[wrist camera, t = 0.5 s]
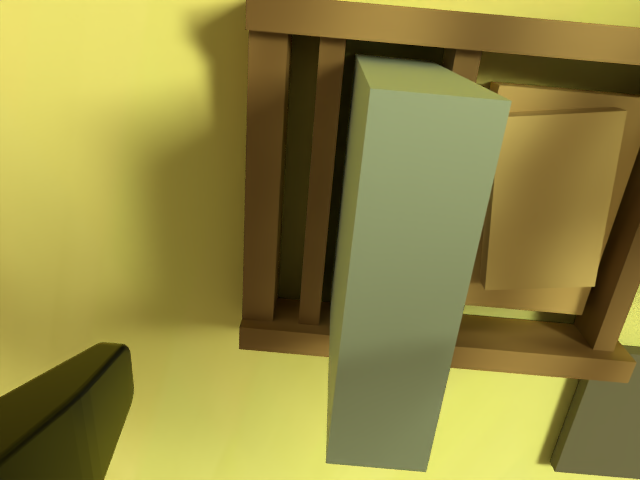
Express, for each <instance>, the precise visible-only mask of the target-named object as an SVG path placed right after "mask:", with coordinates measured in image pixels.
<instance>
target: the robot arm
mask: <svg viewBox="0 0 640 480" xmlns="http://www.w3.org/2000/svg"><path fill="white" fill-rule="evenodd" d="M133 394H134V384H133V374H132V364H131V354H130V350H129V348H128V347H127V346H126V345H125V344H117V343H106V342H102V343H98V344H96V345H94V346H92V347H90V348H89V349H87V350H85V351H83V352H81V353H79V354H78V355H76V356H74V357H72V358H70V359H69V360H67V361H65V362H63V363H61V364H59V365H58V366H56V367H54V368H52V369H50V370H49V371H47V372H45V373H43V374H41V375H39V376H38V377H36V378H34V379H32V380H30V381H29V382H27V383H25V384H23V385H21V386H19V387H18V388H16V389H14V390H12V391H10V392H9V393H7V394H5V395H3V396H1V397H0V480H104V478H105V476H106V473H107V470H108V467H109V464H110V462H111V459H112V456H113V453H114V451H115V448H116V445H117V442H118V439H119V437H120V434H121V431H122V428H123V426H124V423H125V420H126V417H127V414H128V412H129V409H130V406H131V403H132V399H133Z"/></svg>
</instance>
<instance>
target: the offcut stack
mask: <svg viewBox="0 0 640 480" xmlns="http://www.w3.org/2000/svg"><path fill="white" fill-rule="evenodd" d="M490 90H491V91H493V92H495V93H497V94H499V95H501V96H503V97H505V98H507V99H509V100H511V101H512V102H511V107H510V111H509V115H508V120H507V124H506V128H505V133H504V137H503V141H502V146H501V150H500V154H499V159H498V163H497V167H496V172H495V176H494V180H493V185H492V189H491V193H490V198H489V202H488V206H487V211H486V215H485V219H484V223H483V228H482V232H481V236H480V241H479V245H478V249H477V254H476V258H475V262H474V267H473V271H472V275H471V280H470V284H469V288H468V293H467V297H466V301H465V305H474V306H485V307H497V308H508V309H519V310H531V311H542V312H553V313H564V314H576V315H582V313H583V310H584V307H585V304H586V301H587V298H588V296H589V293H590V290H591V287H595V282H596V277H597V272H598V267H599V264H600V261H601V258H602V255H603V252H604V249H605V246H606V243H607V240H608V238H609V235H610V232H611V229H612V226H613V223H614V220H615V217H616V214H617V211H618V209H619V206H620V203H621V200H622V197H623V194H624V191H625V188H626V185H627V182H628V180H629V177H630V174H631V171H632V168H633V165H634V162H635V159H636V156H637V153H638V151H639V148H640V95H636V94H625V93H614V92H603V91H592V90H580V89H569V88H558V87H547V86H536V85H525V84H514V83H502V82H491V85H490Z"/></svg>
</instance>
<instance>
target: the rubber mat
mask: <svg viewBox="0 0 640 480" xmlns="http://www.w3.org/2000/svg"><path fill="white" fill-rule="evenodd" d="M622 346H623V345H622ZM623 347H624V348H625V349H626V350H627V352H628V353H629V354H630V355H631V356H632V357H633V359H634V360H635V361H636V362H637V363H636V365H635V368H634V370H633V373H632V375H631V378H630V380H629V382H628V383H619V382H608V381H597V380H585V379H580V381H579V383H578V386H577V389H576V392H575V394H574V397H573V400H572V403H571V405H570V408H569V411H568V414H567V416H566V419H565V422H564V425H563V427H562V430H561V433H560V435H559V438H558V441H557V444H556V446H555V449H554V452H553V455H552V457H551V460H550V463H551V465H552V467H553V469H554V471H555V472H565V473H576V474H588V475H599V476H611V477H622V478H633V479H640V347H634V346H623Z"/></svg>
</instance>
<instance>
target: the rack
mask: <svg viewBox="0 0 640 480" xmlns="http://www.w3.org/2000/svg"><path fill="white" fill-rule="evenodd" d="M246 30H249V47H248V91H247V135H246V179H245V223H244V266H243V310H242V321H241V325H240V331H239V349H245V350H256V351H267V352H279V353H290V354H301V355H313V356H324V357H329V337H330V303H329V302H321V296H322V286H323V275H324V265H325V254H326V244H327V234H328V223H329V213H330V202H331V192H332V182H333V171H334V161H335V150H336V140H337V130H338V119H339V109H340V98H341V88H342V78H343V67H344V57H345V46H346V39H353V40H365V41H376V42H387V43H398V44H409V45H420V46H431V47H442V48H445V49H444V55H443V61H442V67H444V68H446V69H448V70H450V71H452V72H454V73H456V74H458V75H460V76H462V77H464V78H466V79H468V80H470V81H473V82H475V83H476V80H477V75H478V70H479V65H480V60H481V55H482V51H487V52H498V53H509V54H520V55H531V56H543V57H554V58H565V59H576V60H587V61H598V62H609V63H620V64H632V65H640V28H637V27H625V26H614V25H603V24H592V23H581V22H570V21H559V20H548V19H537V18H526V17H514V16H503V15H492V14H481V13H470V12H459V11H448V10H437V9H426V8H415V7H403V6H392V5H381V4H370V3H359V2H348V1H337V0H246ZM293 34H298V35H309V36H320V47H319V60H318V73H317V86H316V99H315V112H314V125H313V138H312V151H311V164H310V177H309V191H308V204H307V217H306V230H305V243H304V256H303V269H302V282H301V295H300V300H295V299H284V298H278V287H279V269H280V251H281V233H282V215H283V197H284V179H285V161H286V143H287V125H288V107H289V89H290V71H291V53H292V35H293ZM639 284H640V148H639V151H638V153H637V156H636V159H635V162H634V165H633V168H632V171H631V174H630V177H629V180H628V182H627V185H626V188H625V191H624V194H623V197H622V200H621V203H620V206H619V209H618V211H617V214H616V217H615V220H614V223H613V226H612V229H611V232H610V235H609V238H608V240H607V243H606V246H605V249H604V252H603V255H602V258H601V261H600V264H599V267H598V272H597V277H596V282H595V287H591V290H590V293H589V296H588V298H587V301H586V304H585V307H584V310H583V313H582V315H577V316H576V319H575V321H574V324H567V323H556V322H544V321H533V320H522V319H510V318H499V317H488V316H476V315H465V314H462V319H461V323H460V327H459V332H458V336H457V340H456V345H455V349H454V353H453V358H452V362H451V366H450V368H460V369H472V370H483V371H494V372H506V373H517V374H529V375H540V376H551V377H563V378H574V379H585V380H597V381H608V382H619V383H628V382H629V380H630V378H631V375H632V373H633V370H634V368H635V365H636V363H637V362H636V361H635V360H634V359H633V357H632V356H631V355H630V354H629V353H628V352H627V350H626V349H625V348H624V347H623V346H622V345H621V343H620V342H619V341H618V338H619V336H620V333H621V330H622V328H623V325H624V323H625V320H626V318H627V315H628V312H629V310H630V307H631V305H632V302H633V300H634V297H635V294H636V292H637V289H638V287H639Z"/></svg>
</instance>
